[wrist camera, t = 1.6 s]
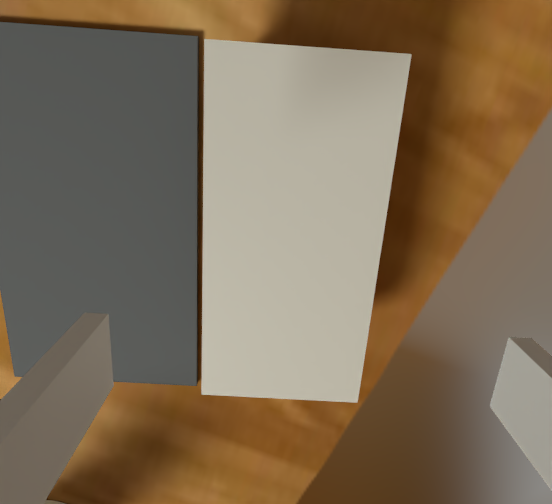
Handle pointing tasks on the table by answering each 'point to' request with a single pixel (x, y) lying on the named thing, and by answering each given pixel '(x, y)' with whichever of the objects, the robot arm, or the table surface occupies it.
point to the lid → (294, 214)
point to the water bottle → (52, 502)
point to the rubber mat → (101, 194)
